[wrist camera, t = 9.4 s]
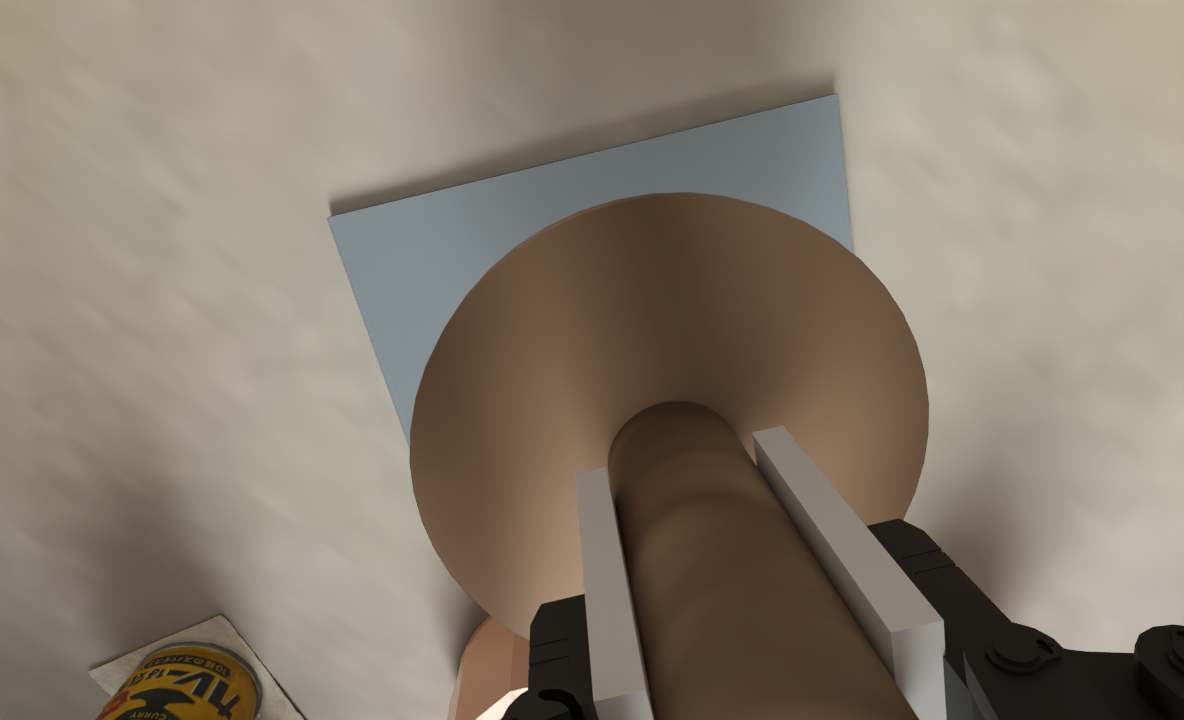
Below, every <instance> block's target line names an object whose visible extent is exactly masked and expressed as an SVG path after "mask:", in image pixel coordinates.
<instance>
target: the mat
mask: <svg viewBox="0 0 1184 720" xmlns="http://www.w3.org/2000/svg"><path fill="white" fill-rule="evenodd" d="M677 192H692V193H702V194H712V195H722V196H727V197H731V198H735V199H739V200H743V201H748V202H752V203H756V204H759V205H763V206H766V207H769V208H772V209H775V210H777V211H780V212H782V213H785V214H787V215H790V216H792V217H795V218H797V219H800V220H802V221H805V222H806V223H808V224H810V225H812V226H813V227H815V228H817V229H818V230H820V231H822V232H823V233H825V234H827V235H829V236H830V237H832V238H834V239H835V240H837V241H838V242H839V243H840V244H842V245H843V246H844V247H845V248H847V249H848V250H849V251H850V252H851V253H853V246H852V236H851V225H850V215H849V204H848V194H847V183H846V173H845V162H844V152H843V142H842V131H841V121H840V110H839V100H838V94H832V95H828V96H824V97H820V98H816V99H812V100H808V101H804V102H799V103H795V104H791V105H787V106H783V107H779V108H775V109H771V110H766V111H762V112H758V113H754V114H750V115H746V116H742V117H738V118H734V119H729V120H725V121H721V122H717V123H713V124H709V125H705V126H701V127H697V128H692V129H688V130H684V131H680V132H676V133H672V134H668V135H664V136H660V137H655V138H651V139H647V140H643V141H639V142H635V143H631V144H627V145H623V146H618V147H614V148H610V149H606V150H602V151H598V152H594V153H590V154H586V155H581V156H577V157H573V158H569V159H565V160H561V161H557V162H553V163H548V164H544V165H540V166H536V167H532V168H528V169H524V170H520V171H516V172H511V173H507V174H503V175H499V176H495V177H491V178H487V179H483V180H479V181H474V182H470V183H466V184H462V185H458V186H454V187H450V188H446V189H442V190H437V191H433V192H429V193H425V194H421V195H417V196H413V197H409V198H405V199H400V200H396V201H392V202H388V203H384V204H380V205H376V206H372V207H368V208H363V209H359V210H355V211H351V212H347V213H343V214H339V215H335V216H331V217H328V218H327V220H328V223H329V226H330V229H331V231H332V234H333V237H334V240H335V243H336V245H337V248H338V251H339V254H340V256H341V259H342V262H343V265H344V268H345V270H346V273H347V276H348V279H349V281H350V284H351V287H352V290H353V293H354V295H355V298H356V301H357V304H358V306H359V309H360V312H361V315H362V318H363V320H364V323H365V326H366V329H367V331H368V334H369V337H370V340H371V343H372V345H373V348H374V351H375V354H376V356H377V359H378V362H379V365H380V368H381V370H382V373H383V376H384V379H385V381H386V384H387V387H388V390H389V393H390V395H391V398H392V401H393V404H394V406H395V409H396V412H397V415H398V418H399V420H400V423H401V426H402V429H403V431H404V434H405V437H406V440H407V443H408V445H409V448H410V428H411V422H412V416H413V410H414V404H415V398H416V395H417V391H418V388H419V385H420V382H421V379H422V376H423V373H424V369H425V366H426V364H427V362H428V360H429V358H430V356H431V354H432V352H433V350H434V348H435V345H436V343H437V341H438V339H439V337H440V335H441V333H442V331H443V330H444V328H445V326H446V324H447V322H448V321H449V320H450V318H451V317H452V315H453V314H454V312H455V311H456V309H457V308H458V306H459V305H460V303H461V302H462V300H463V299H464V297H465V296H466V294H467V293H468V292H469V291H470V290H471V289H472V288H473V287H474V286H475V284H476V283H477V282H478V281H479V280H480V279H481V278H482V277H483V275H484V274H485V273H486V272H487V271H488V270H489V269H490V268H491V267H492V266H493V265H495V264H496V263H497V262H498V261H499V260H500V259H502V258H503V257H504V256H505V255H506V254H508V253H509V252H510V251H511V250H512V249H513V248H515V247H516V246H517V245H519V244H520V243H522V242H523V241H525V240H526V239H528V238H530V237H531V236H533V235H534V234H536V233H537V232H539V231H540V230H542V229H544V228H545V227H547V226H549V225H551V224H553V223H555V222H557V221H559V220H562V219H564V218H566V217H568V216H570V215H572V214H574V213H577V212H579V211H581V210H584V209H587V208H591V207H594V206H597V205H600V204H603V203H607V202H610V201H613V200H616V199H622V198H628V197H634V196H640V195H646V194H651V193H677Z"/></svg>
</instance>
